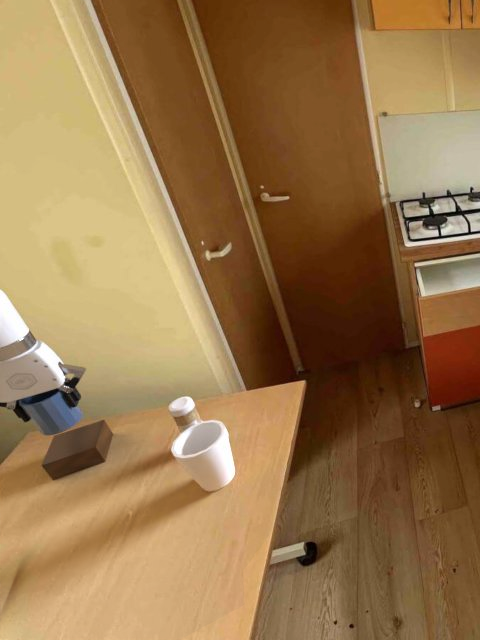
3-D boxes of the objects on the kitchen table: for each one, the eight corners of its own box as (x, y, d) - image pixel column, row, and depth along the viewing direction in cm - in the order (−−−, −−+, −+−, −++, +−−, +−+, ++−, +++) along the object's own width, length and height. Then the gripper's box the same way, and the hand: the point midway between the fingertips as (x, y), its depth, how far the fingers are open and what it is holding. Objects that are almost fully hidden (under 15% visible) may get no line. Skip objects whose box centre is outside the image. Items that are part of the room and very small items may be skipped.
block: (52, 480, 93) (41, 465, 91) (64, 450, 100) (53, 435, 98) (105, 461, 97) (95, 446, 95) (113, 433, 104) (104, 419, 102)
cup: (36, 440, 90) (13, 410, 85) (46, 418, 95) (25, 389, 90) (78, 426, 93) (58, 397, 88) (86, 406, 98) (67, 377, 94)
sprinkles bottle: (214, 434, 104) (195, 394, 98) (206, 449, 100) (186, 409, 94) (193, 437, 103) (173, 397, 97) (184, 453, 99) (163, 412, 93)
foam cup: (182, 492, 91) (159, 452, 85) (218, 455, 99) (199, 416, 93) (218, 502, 89) (197, 462, 83) (252, 464, 97) (235, 424, 91)
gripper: (-68, 374, 77) (-11, 440, 85) (60, 342, 85) (101, 405, 93) (-48, 350, 82) (4, 414, 91) (71, 322, 90) (108, 384, 99)
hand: (53, 409), depth 92 cm, fingers closed on cup, 6 cm apart
